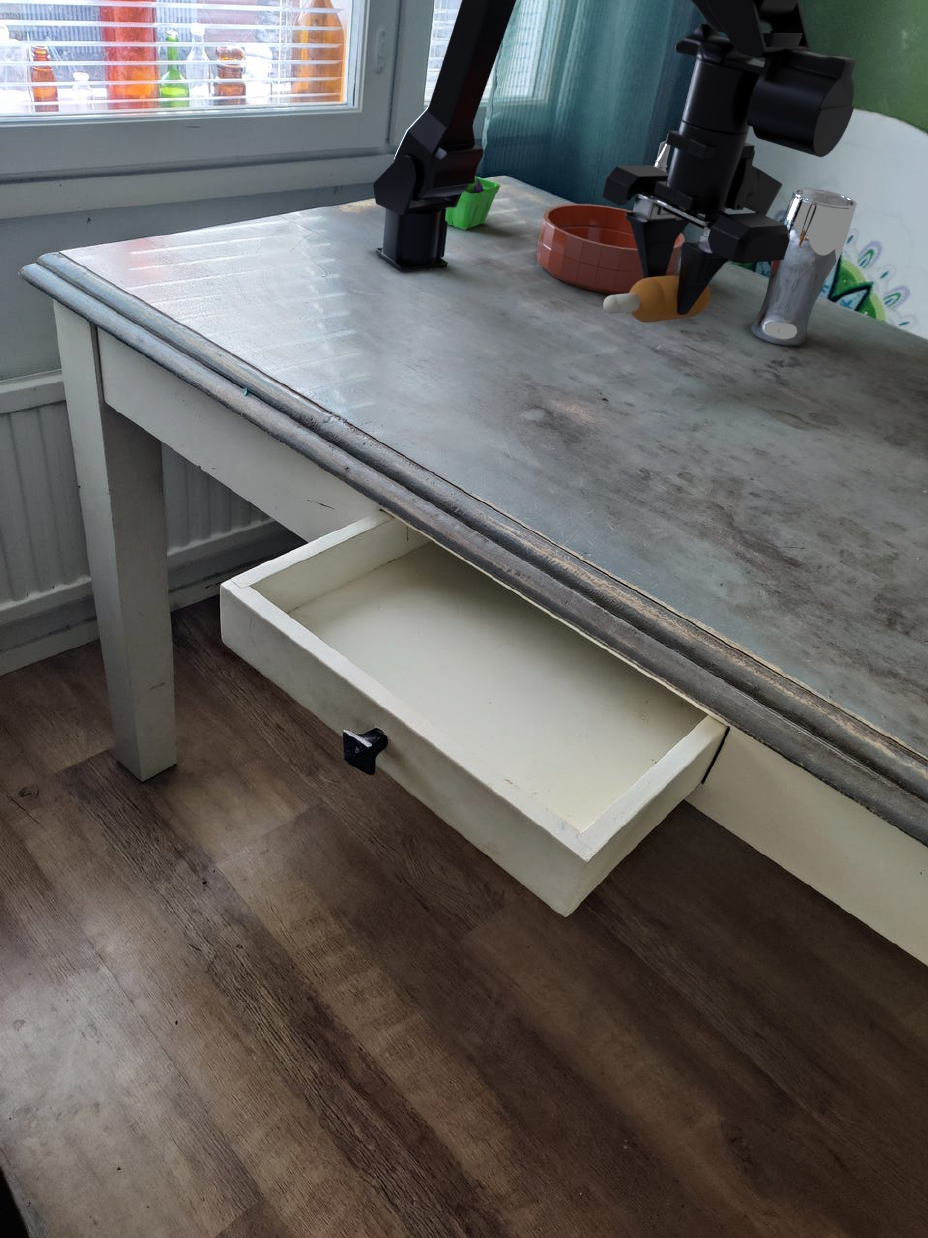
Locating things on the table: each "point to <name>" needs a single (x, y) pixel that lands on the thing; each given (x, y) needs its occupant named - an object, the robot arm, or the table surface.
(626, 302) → the drumstick
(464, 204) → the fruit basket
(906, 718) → the table surface
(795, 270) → the beer glass
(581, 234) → the shallow orange pet bowl
